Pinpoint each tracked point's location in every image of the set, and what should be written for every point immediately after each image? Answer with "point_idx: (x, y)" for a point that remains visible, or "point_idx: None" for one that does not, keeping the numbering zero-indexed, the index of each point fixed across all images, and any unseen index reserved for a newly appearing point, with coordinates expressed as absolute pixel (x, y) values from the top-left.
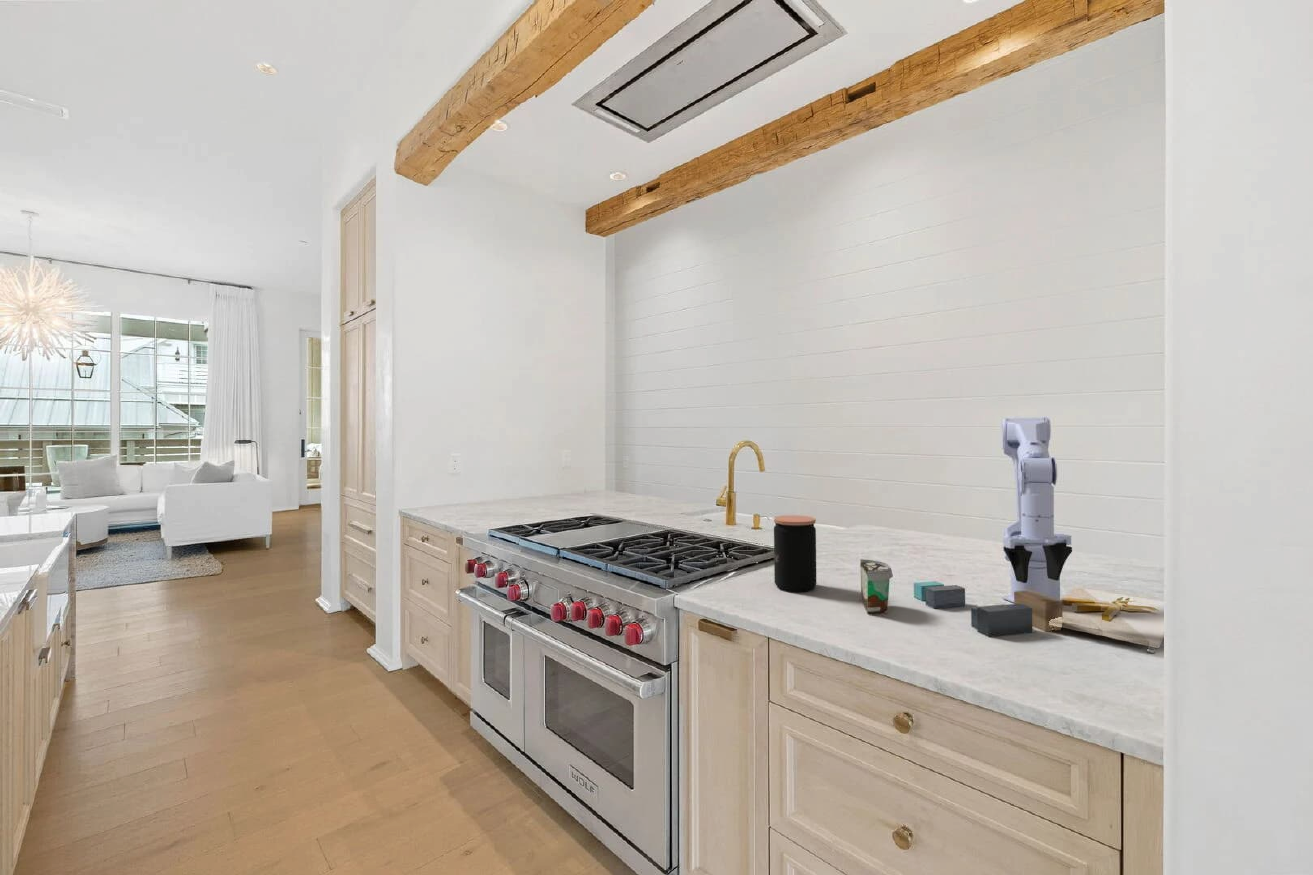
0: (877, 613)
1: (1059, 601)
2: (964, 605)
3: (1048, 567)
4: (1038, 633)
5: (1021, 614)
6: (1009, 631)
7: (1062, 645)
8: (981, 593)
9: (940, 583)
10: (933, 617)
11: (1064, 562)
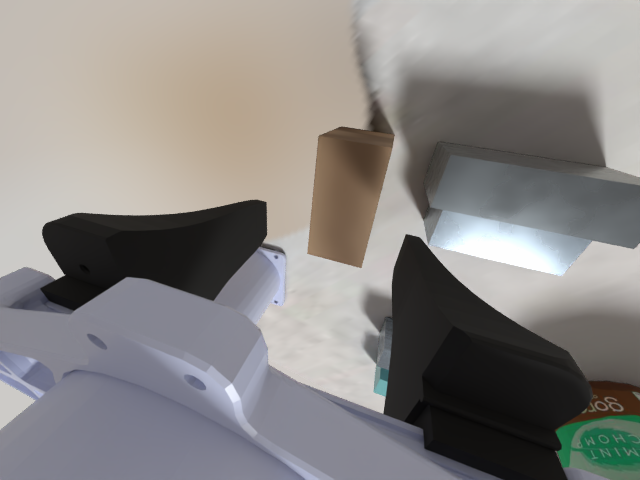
0: (636, 388)
1: (330, 138)
2: (388, 318)
3: (241, 257)
4: (425, 132)
5: (496, 158)
6: (526, 156)
7: (481, 7)
8: (292, 331)
9: (380, 384)
10: (534, 317)
11: (183, 214)
